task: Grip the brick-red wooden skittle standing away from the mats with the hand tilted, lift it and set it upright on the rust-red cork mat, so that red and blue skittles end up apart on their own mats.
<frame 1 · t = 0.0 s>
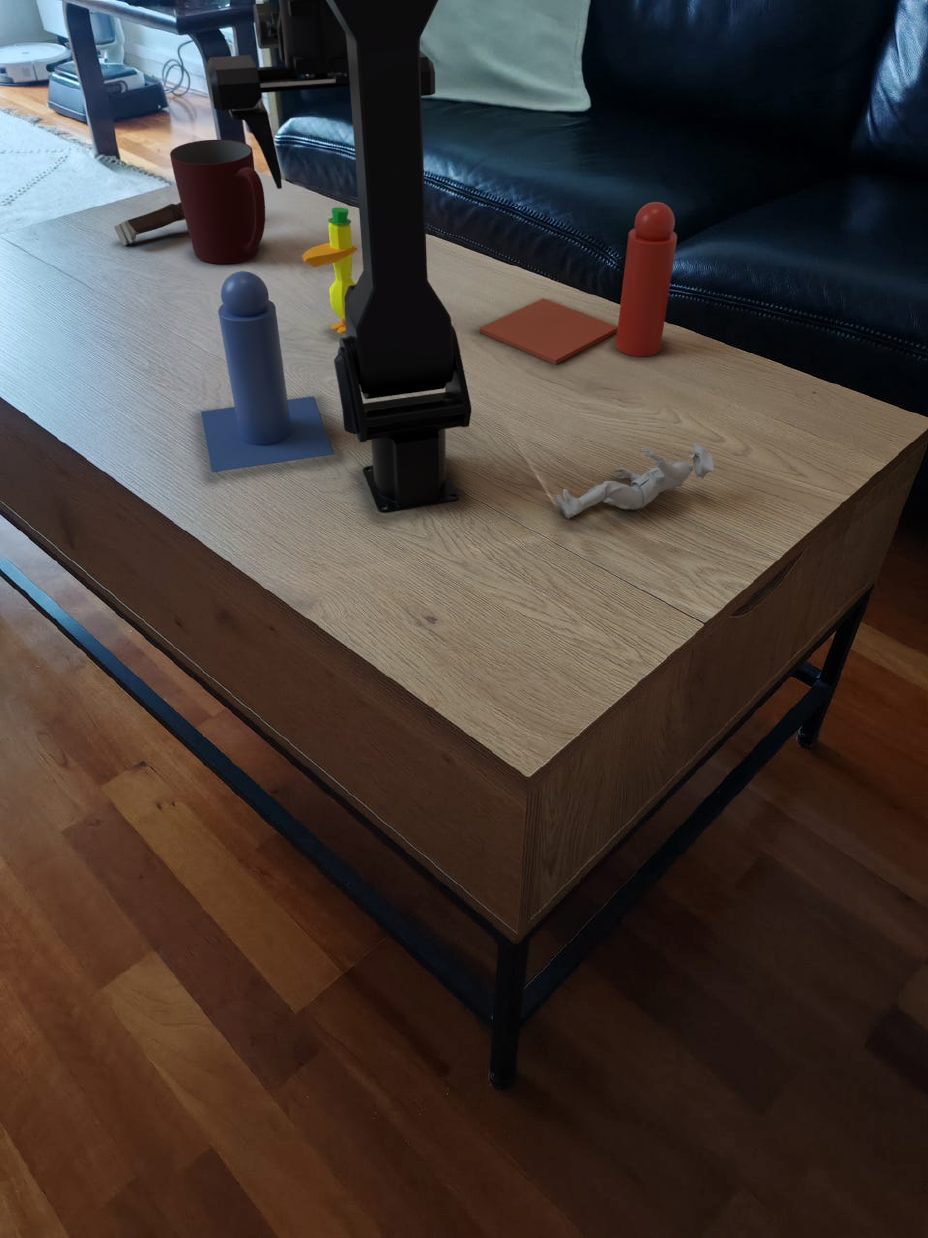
hand: (329, 182, 88), 15 cm above the table, tool pointing down, fingers open, 9 cm apart
blue mat: (266, 436, 83), on the table
red skittle: (637, 346, 96), on the table
blue skittle: (265, 431, 83), resting on blue mat
soldier figure: (630, 507, 76), on the table
toy figure: (341, 334, 98), on the table
mug: (236, 257, 113), on the table
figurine: (186, 236, 118), on the table
red mat: (549, 331, 98), on the table
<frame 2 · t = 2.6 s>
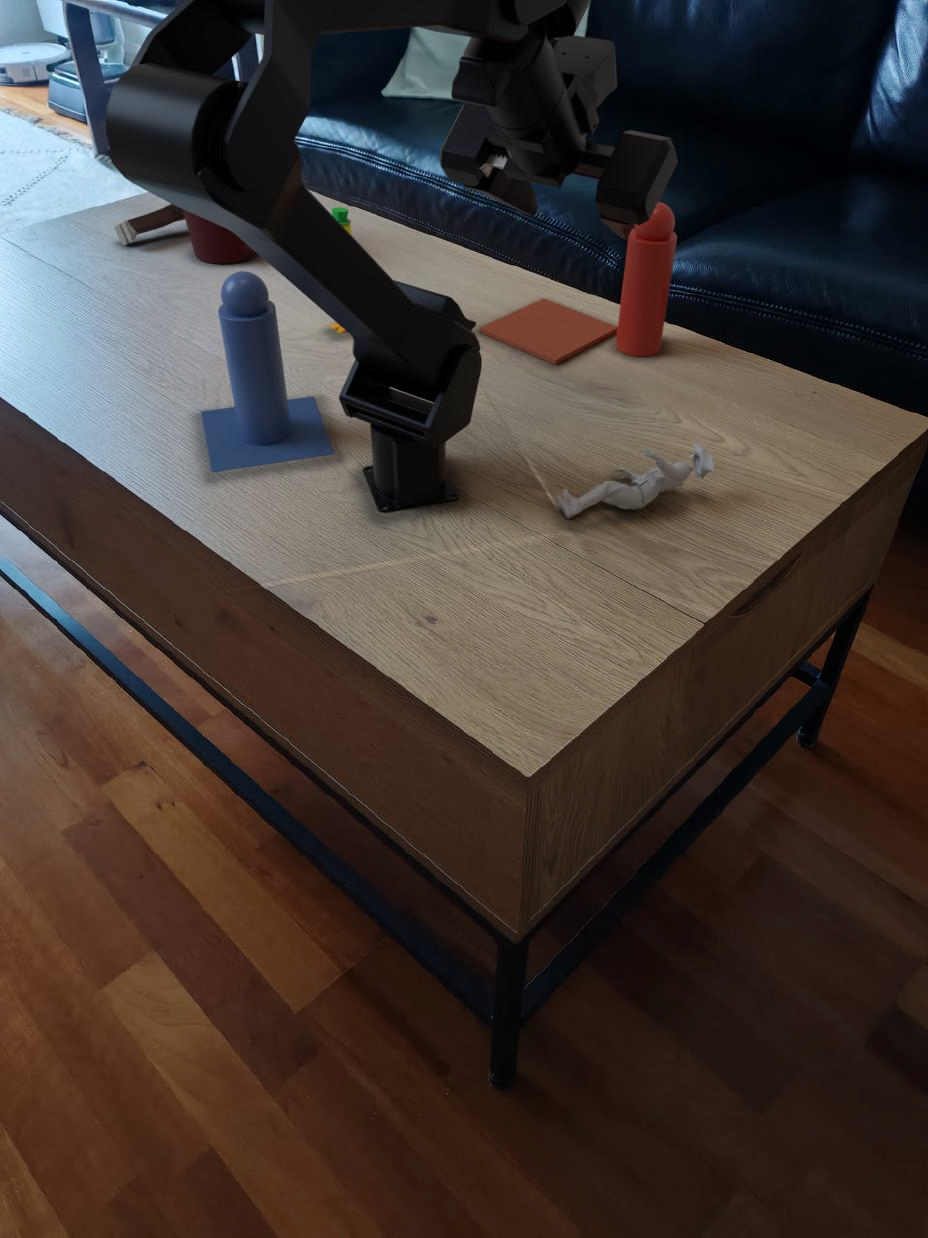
hand: (580, 222, 84), 14 cm above the table, tool tilted 40°, fingers open, 9 cm apart
nothing on the table moved.
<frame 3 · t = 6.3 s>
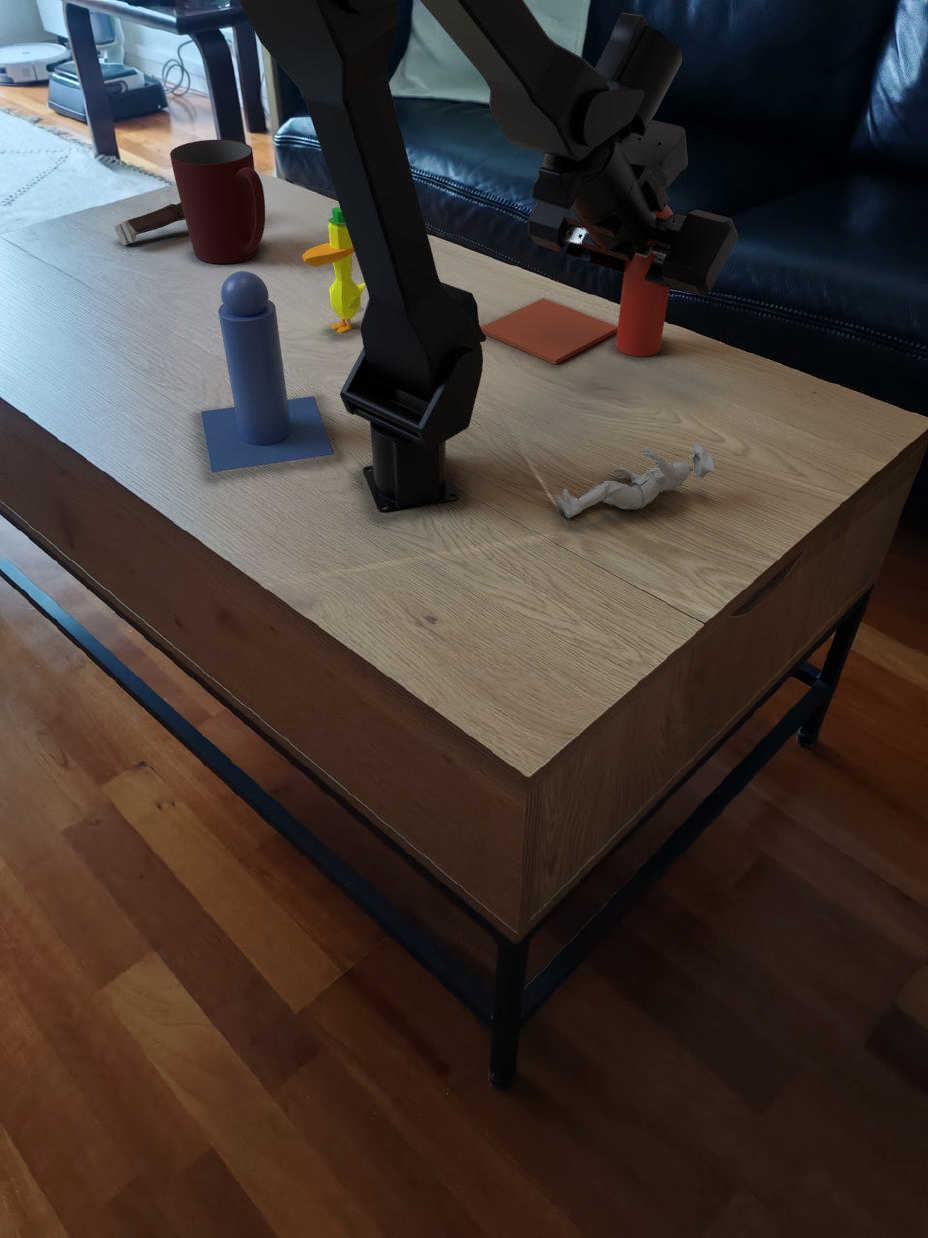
hand: (654, 277, 93), 7 cm above the table, tool tilted 45°, fingers closed on red skittle, 4 cm apart
red skittle: (637, 346, 96), on the table, touching gripper
everything else where it was.
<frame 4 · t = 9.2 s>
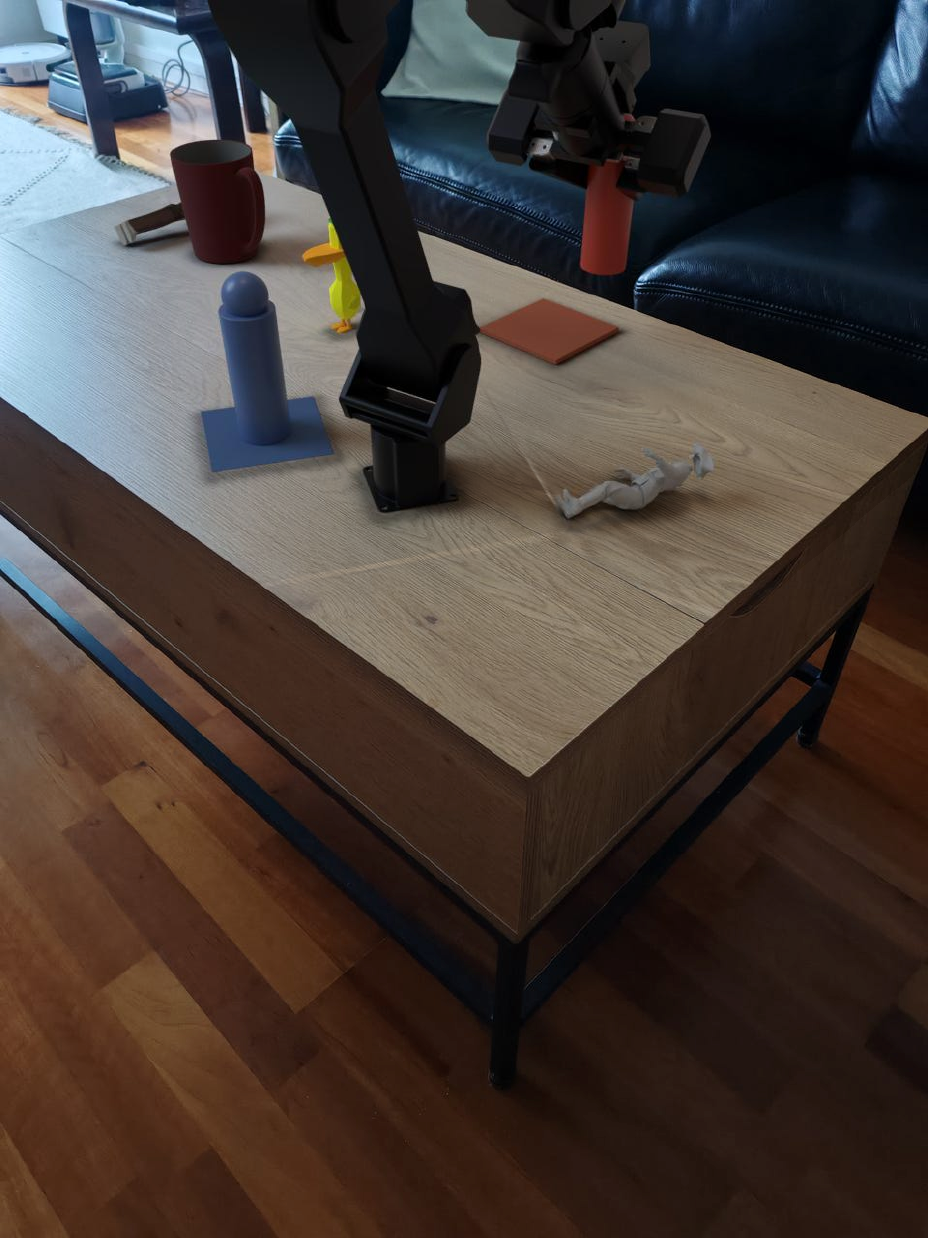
hand: (616, 191, 90), 13 cm above the table, tool tilted 45°, fingers closed on red skittle, 4 cm apart
red skittle: (602, 266, 94), point 7 cm above the table, touching gripper
everything else where it was.
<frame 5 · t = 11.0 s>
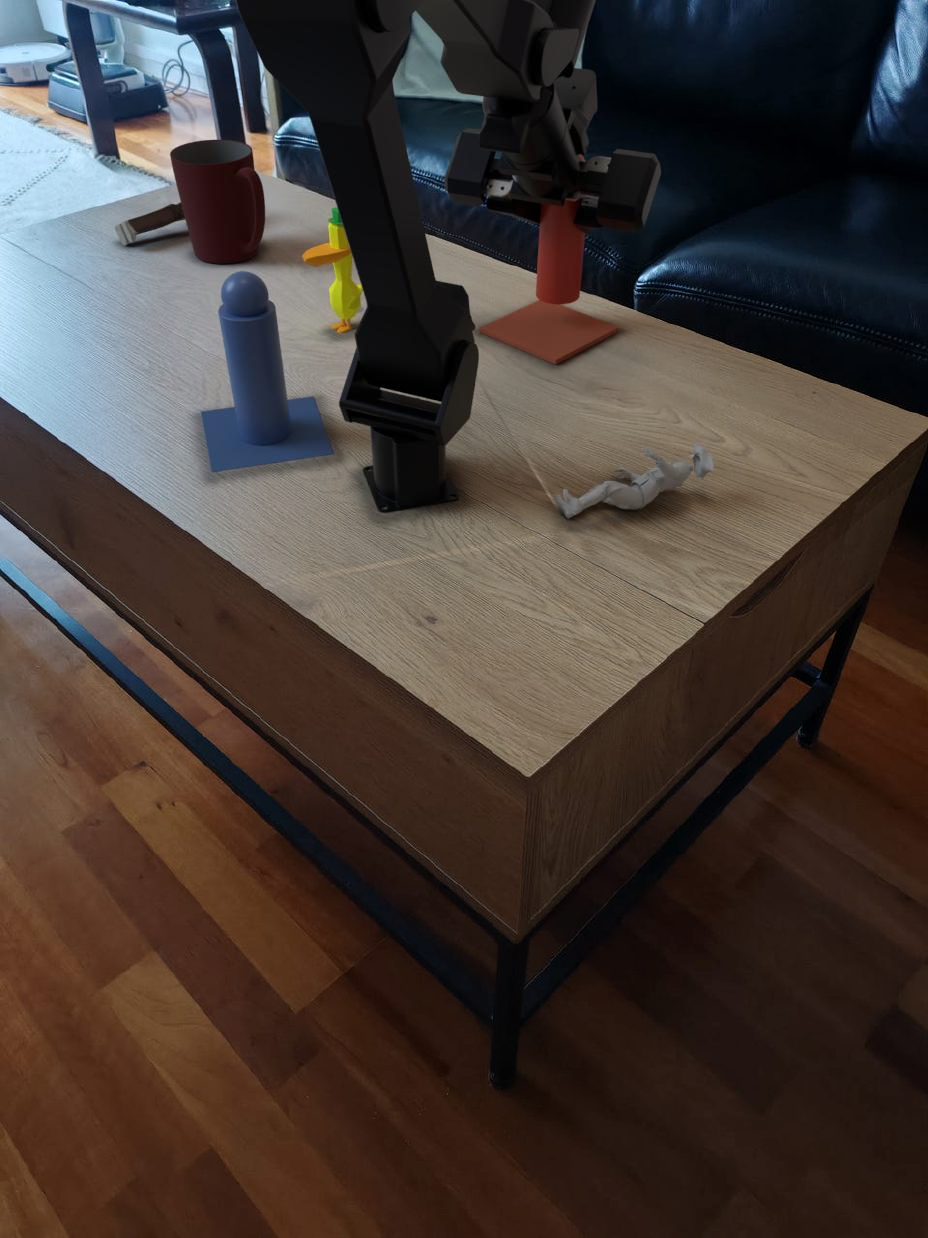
hand: (567, 224, 94), 10 cm above the table, tool tilted 45°, fingers closed on red skittle, 4 cm apart
red skittle: (557, 295, 98), point 3 cm above the table, touching gripper
everything else where it was.
when the fingers open (7 cm above the table, at t = 12.2 s): red skittle stays where it is, resting on red mat.
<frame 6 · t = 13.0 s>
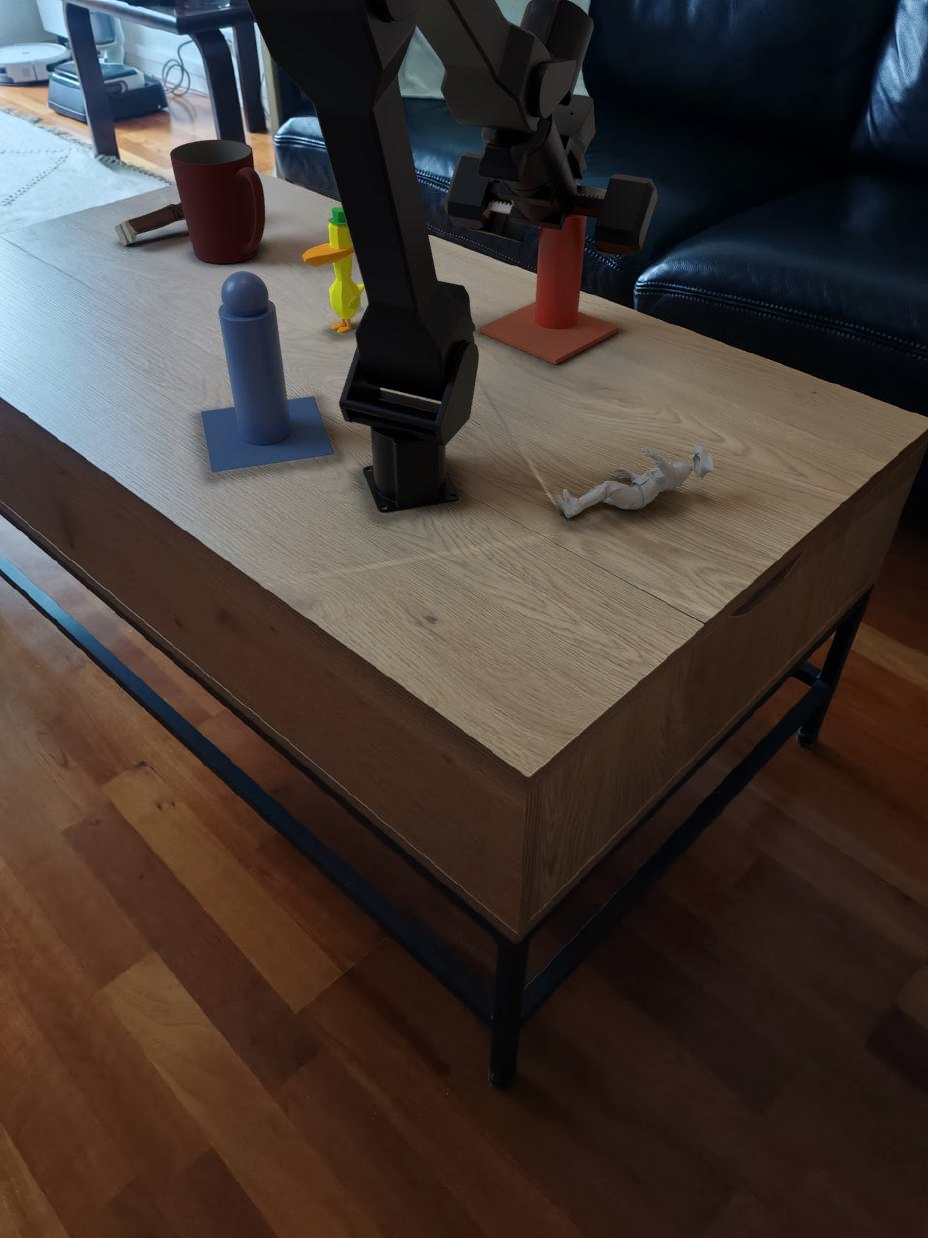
hand: (566, 245, 96), 8 cm above the table, tool tilted 45°, fingers open, 9 cm apart
red skittle: (556, 319, 99), resting on red mat
everything else where it was.
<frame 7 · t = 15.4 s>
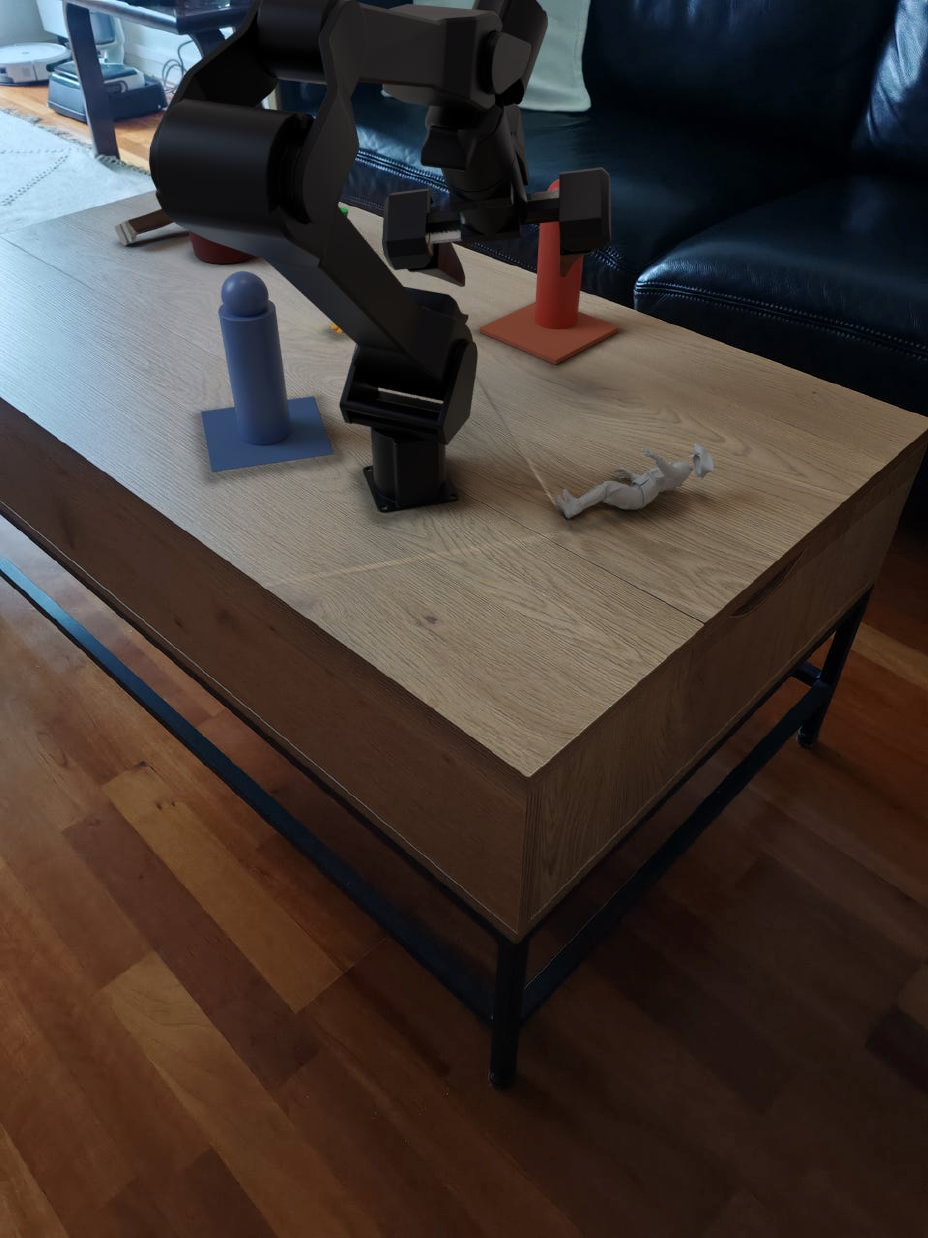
hand: (512, 276, 88), 8 cm above the table, tool tilted 35°, fingers open, 9 cm apart
nothing on the table moved.
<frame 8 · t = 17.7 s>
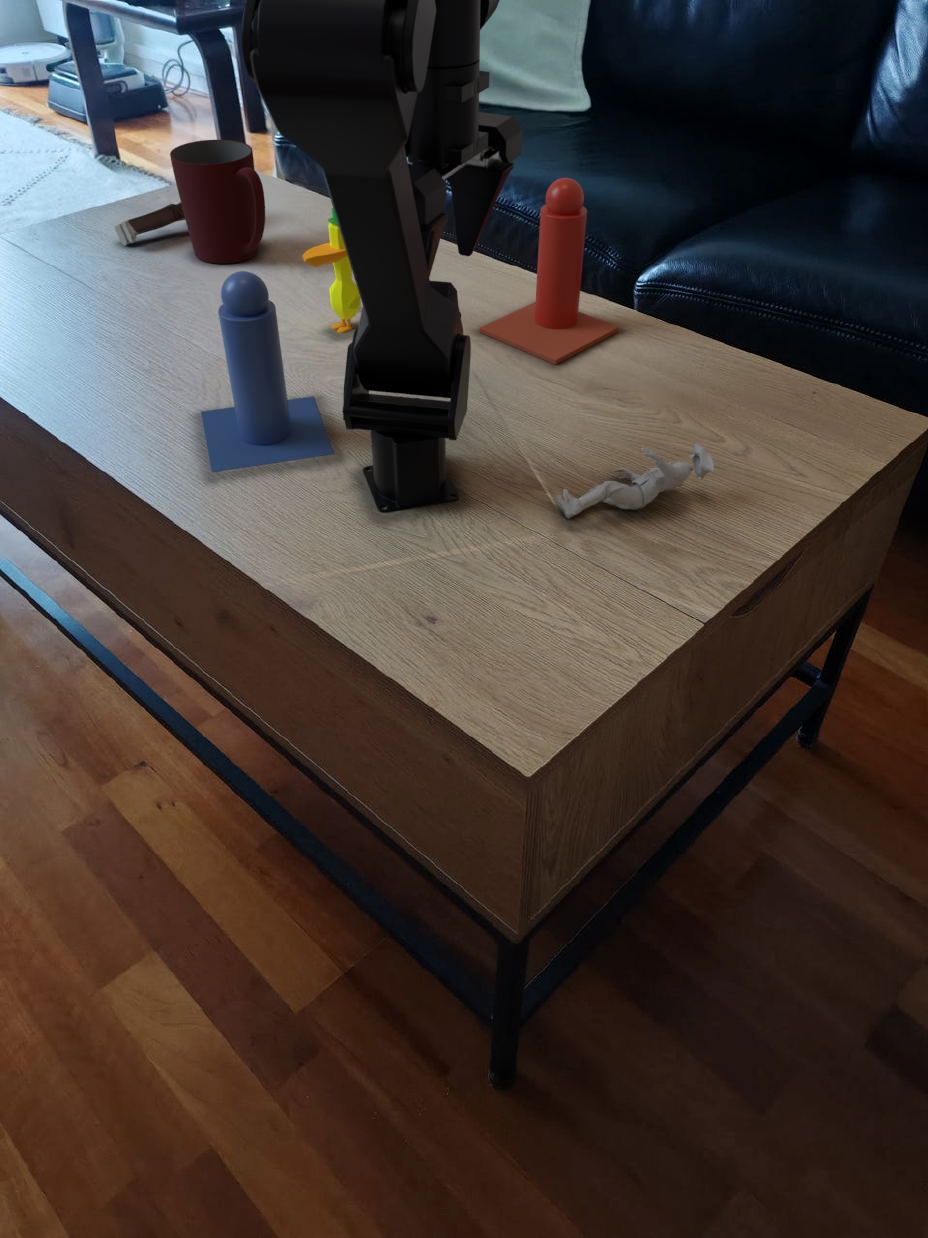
hand: (441, 274, 79), 12 cm above the table, tool pointing down, fingers open, 9 cm apart
nothing on the table moved.
at the end: red skittle inside the target area on the red mat (2.0 cm from its centre), point 0.5 cm above the red mat's base; red skittle tilted 0°; blue skittle moved 0.0 cm from its start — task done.
